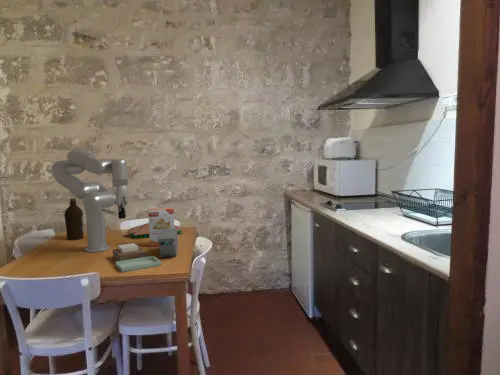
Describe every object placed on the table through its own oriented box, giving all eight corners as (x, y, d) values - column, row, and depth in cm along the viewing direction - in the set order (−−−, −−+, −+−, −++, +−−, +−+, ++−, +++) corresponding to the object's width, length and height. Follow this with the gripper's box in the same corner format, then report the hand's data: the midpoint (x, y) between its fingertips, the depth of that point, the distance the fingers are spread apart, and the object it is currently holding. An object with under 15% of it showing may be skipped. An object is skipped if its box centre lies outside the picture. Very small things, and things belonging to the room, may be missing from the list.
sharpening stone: (175, 260, 193) (174, 238, 192) (159, 260, 192) (158, 239, 191) (178, 247, 218) (177, 228, 217) (163, 248, 217) (163, 228, 216)
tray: (115, 265, 185) (115, 261, 185) (153, 259, 195) (152, 255, 195) (122, 272, 175) (121, 268, 175) (161, 265, 185) (161, 261, 184)
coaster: (118, 249, 201) (118, 245, 201) (134, 246, 205) (133, 243, 205) (122, 252, 194) (121, 248, 194) (138, 250, 198) (138, 246, 198)
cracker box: (149, 247, 220) (147, 210, 218) (150, 244, 226) (148, 208, 224) (175, 245, 223) (173, 208, 221) (175, 243, 229) (173, 207, 227)
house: (126, 233, 260) (125, 221, 259) (175, 228, 273) (175, 217, 272) (130, 240, 239) (129, 227, 238) (183, 235, 252) (183, 222, 251)
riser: (113, 257, 201) (112, 249, 200) (138, 253, 207) (138, 245, 207) (120, 264, 187) (120, 256, 187) (147, 260, 194) (147, 252, 194)
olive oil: (67, 241, 239) (65, 200, 237) (64, 238, 248) (61, 198, 246) (86, 238, 245) (83, 198, 243) (82, 235, 254) (80, 197, 252)
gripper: (109, 182, 209) (111, 217, 210) (116, 184, 196) (118, 221, 198) (123, 181, 213) (125, 215, 214) (131, 183, 200) (133, 219, 202)
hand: (122, 218), depth 206 cm, fingers closed
